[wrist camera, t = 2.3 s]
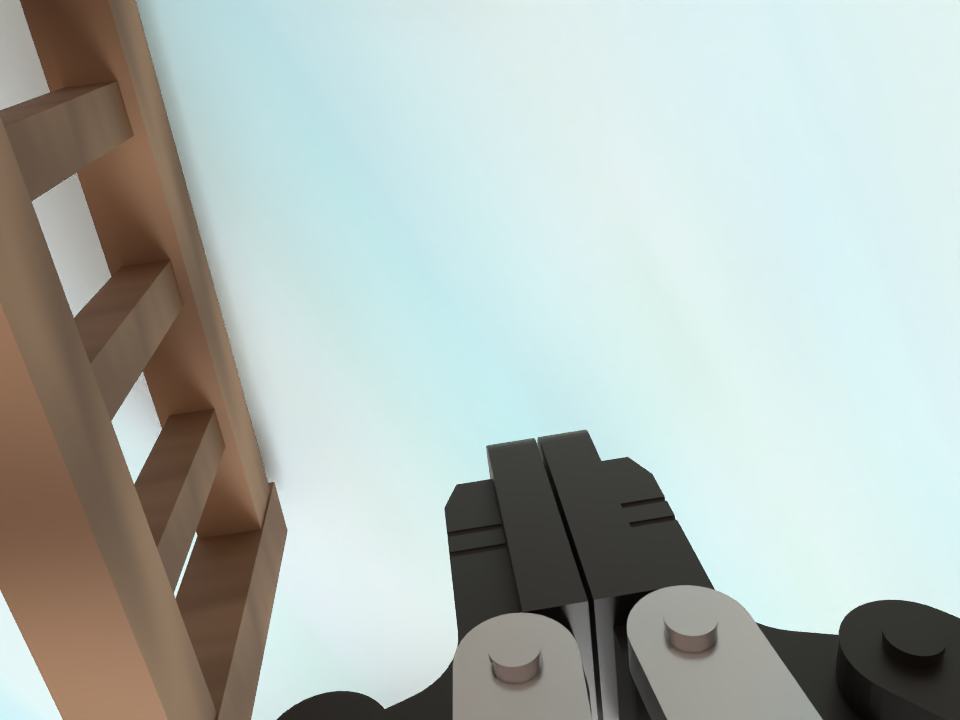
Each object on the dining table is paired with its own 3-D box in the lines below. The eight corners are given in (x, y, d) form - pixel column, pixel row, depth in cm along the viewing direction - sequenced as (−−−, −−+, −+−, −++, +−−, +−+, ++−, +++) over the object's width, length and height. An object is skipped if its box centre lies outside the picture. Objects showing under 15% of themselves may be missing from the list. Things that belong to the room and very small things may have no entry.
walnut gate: (13, -150, 15) (-429, -284, 7) (100, -160, 15) (-238, -305, 7) (228, 539, 22) (131, 868, 14) (287, 530, 22) (224, 853, 14)
